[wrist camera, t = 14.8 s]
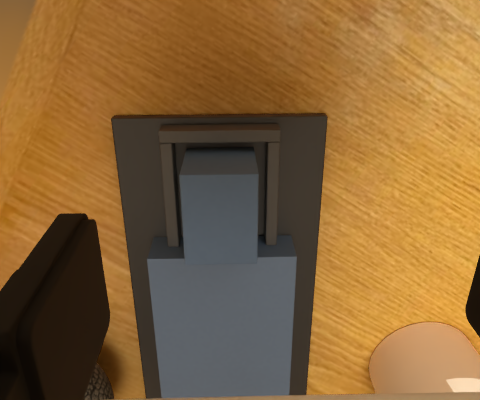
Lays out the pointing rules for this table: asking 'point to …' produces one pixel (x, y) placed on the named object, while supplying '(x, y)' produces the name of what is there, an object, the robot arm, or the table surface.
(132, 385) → the table surface
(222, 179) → the blue-grey block
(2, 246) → the table surface
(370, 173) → the table surface
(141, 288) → the backing plate
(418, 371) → the cylinder with rectangular tab
